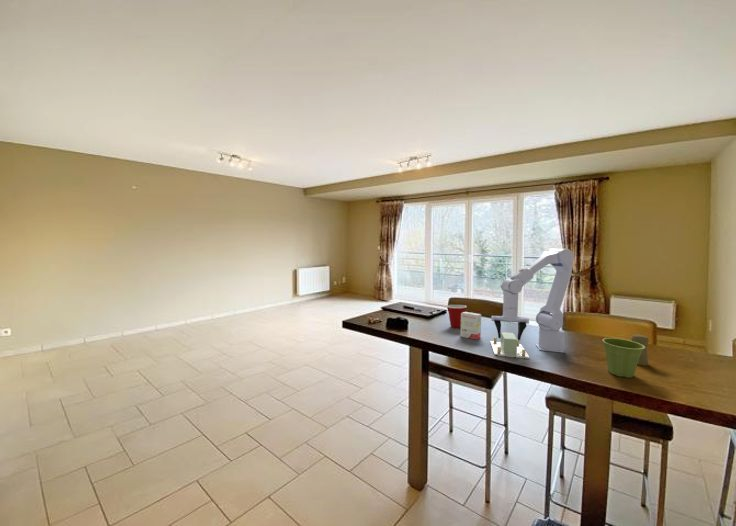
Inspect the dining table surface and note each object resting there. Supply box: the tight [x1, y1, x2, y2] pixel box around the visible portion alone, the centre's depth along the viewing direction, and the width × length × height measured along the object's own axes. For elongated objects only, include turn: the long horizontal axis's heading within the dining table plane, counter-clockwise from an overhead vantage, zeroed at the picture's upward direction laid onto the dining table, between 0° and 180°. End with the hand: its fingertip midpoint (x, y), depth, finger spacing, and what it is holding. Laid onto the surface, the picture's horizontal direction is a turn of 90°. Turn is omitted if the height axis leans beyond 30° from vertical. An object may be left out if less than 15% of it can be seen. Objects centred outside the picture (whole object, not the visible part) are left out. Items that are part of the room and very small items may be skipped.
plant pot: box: [601, 337, 645, 379], centre depth 112 cm, size 12×12×11 cm
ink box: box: [460, 311, 482, 341], centre depth 153 cm, size 9×5×12 cm, turn 50°
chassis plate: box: [489, 336, 530, 360], centre depth 135 cm, size 13×17×3 cm
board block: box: [500, 331, 518, 353], centre depth 135 cm, size 5×10×6 cm, turn 164°
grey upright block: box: [630, 334, 650, 366], centre depth 123 cm, size 6×6×11 cm
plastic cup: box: [446, 304, 468, 329], centre depth 171 cm, size 11×11×12 cm
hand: (509, 338), depth 135 cm, fingers open, 7 cm apart
